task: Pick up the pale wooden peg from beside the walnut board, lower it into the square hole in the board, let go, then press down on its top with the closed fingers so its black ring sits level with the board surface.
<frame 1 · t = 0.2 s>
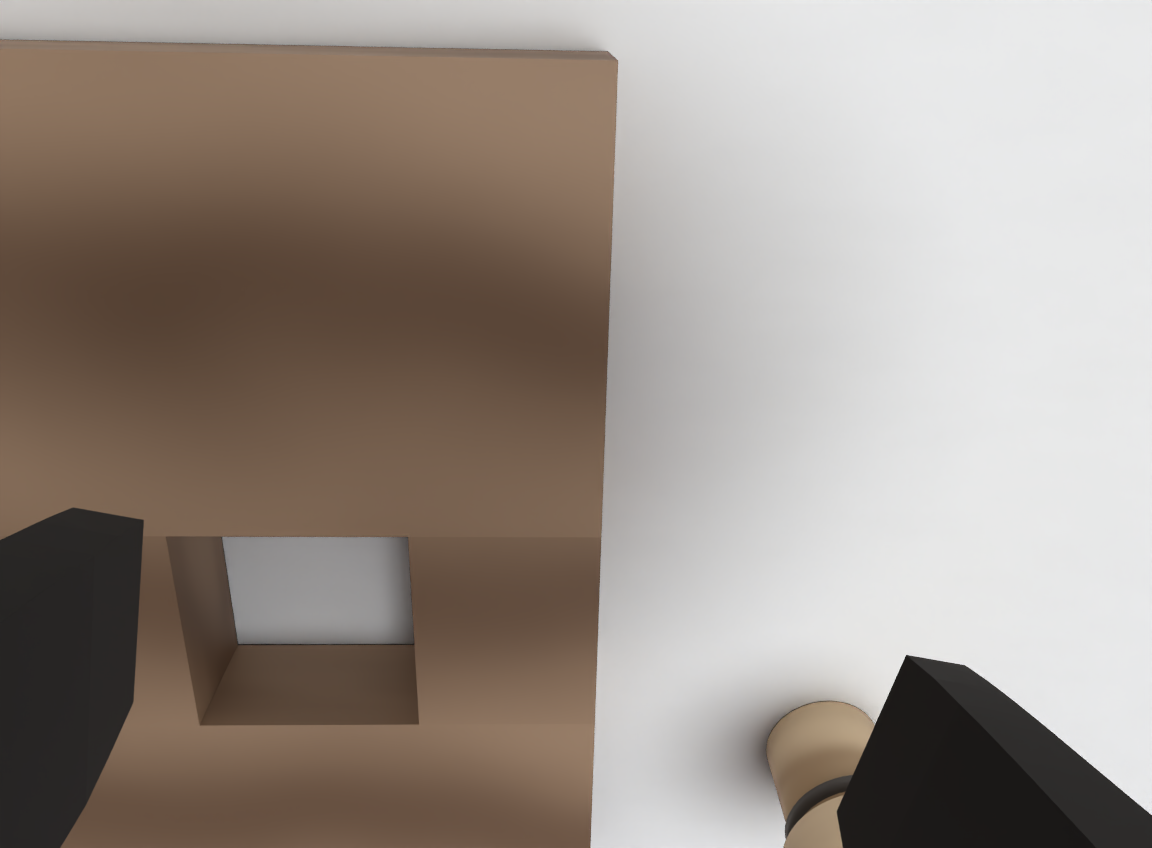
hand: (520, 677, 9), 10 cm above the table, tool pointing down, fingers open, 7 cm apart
board: (283, 602, 20), on the table
peg: (821, 745, 22), on the table
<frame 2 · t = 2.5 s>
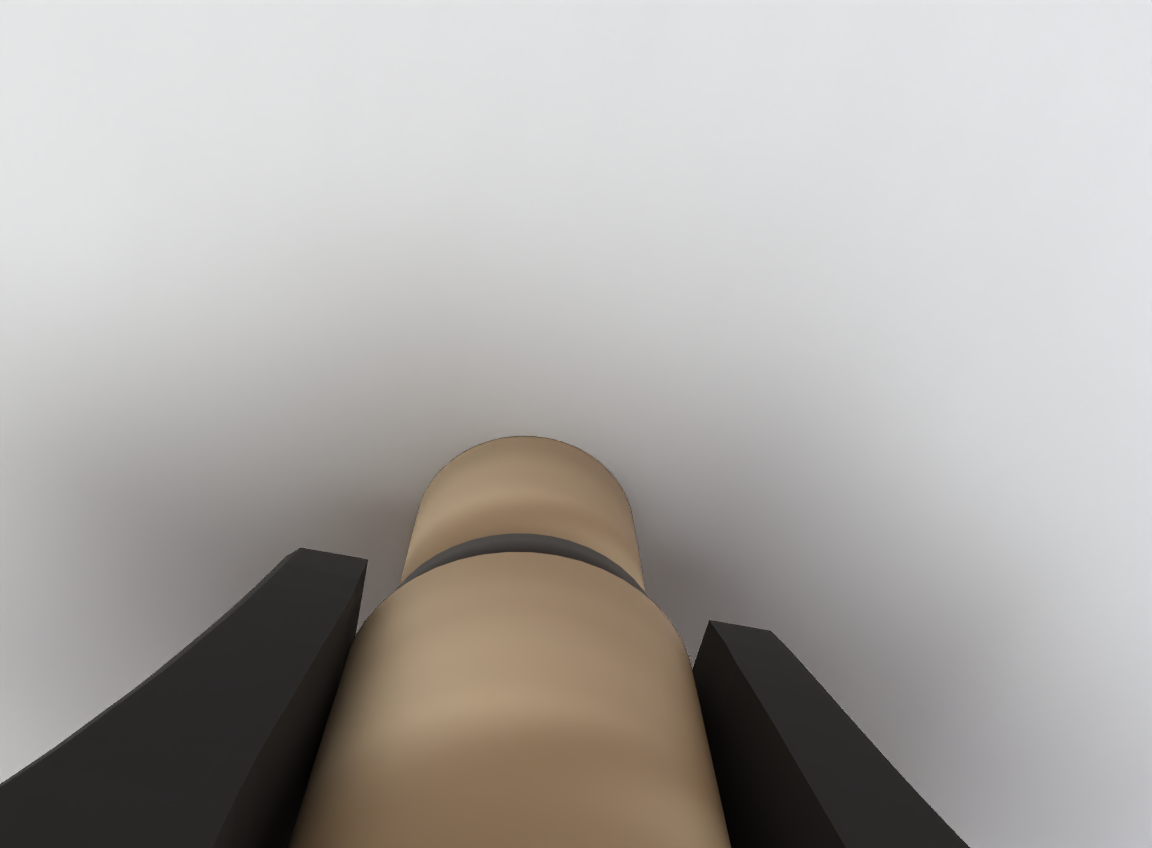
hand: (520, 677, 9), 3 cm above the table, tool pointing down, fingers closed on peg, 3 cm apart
peg: (525, 535, 11), on the table, touching gripper
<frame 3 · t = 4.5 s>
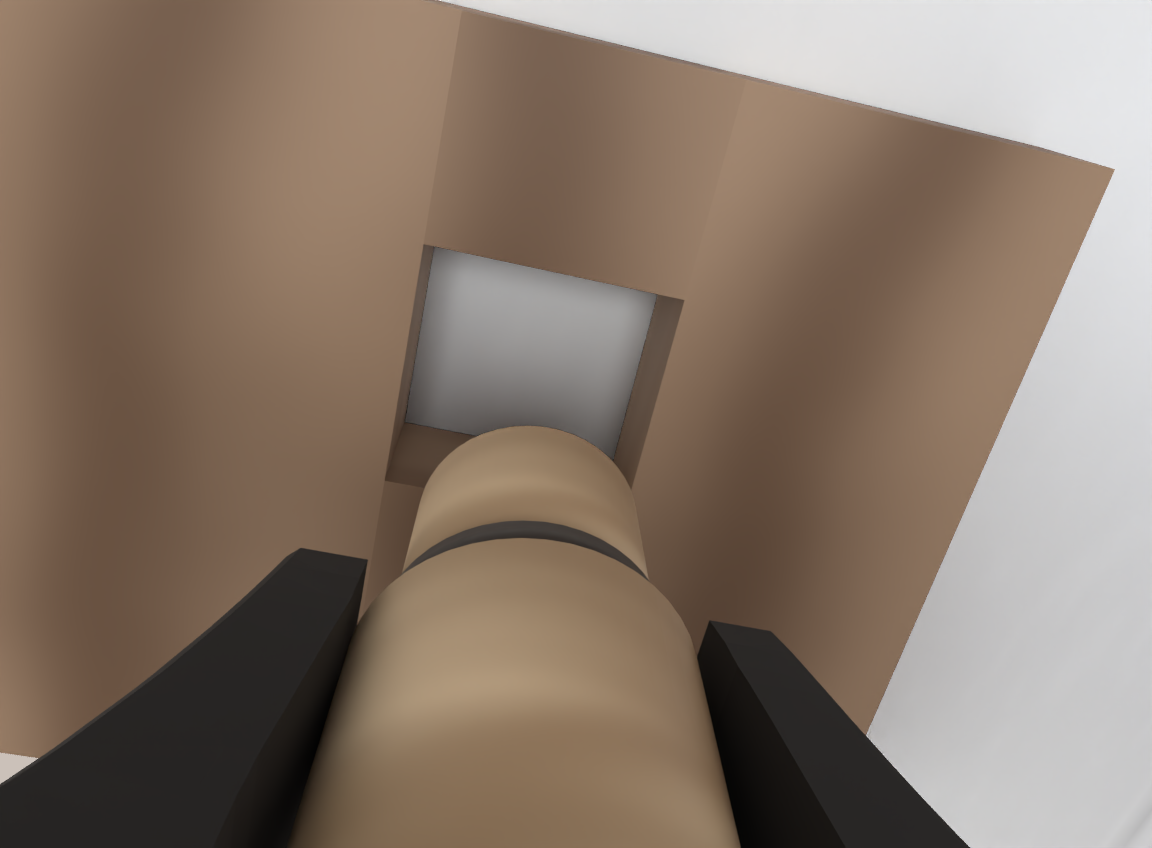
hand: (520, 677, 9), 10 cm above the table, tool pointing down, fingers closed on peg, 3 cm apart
board: (571, 402, 19), on the table
peg: (528, 525, 11), point 7 cm above the table, touching gripper
when the fingers open (4 cm above the table, at t = 6.4 s): peg drops 1 cm, resting in board.
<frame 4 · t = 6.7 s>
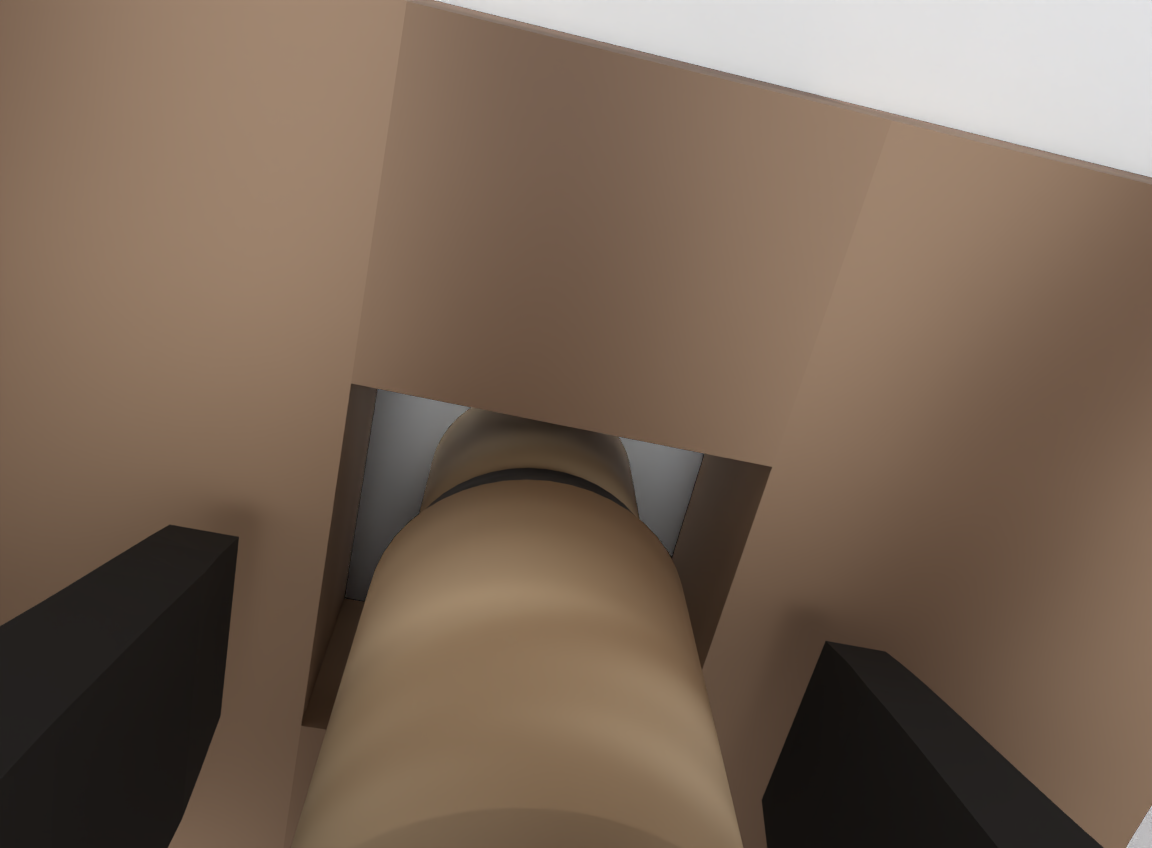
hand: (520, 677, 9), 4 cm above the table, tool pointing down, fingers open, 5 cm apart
board: (585, 570, 13), on the table
peg: (531, 483, 12), resting in board
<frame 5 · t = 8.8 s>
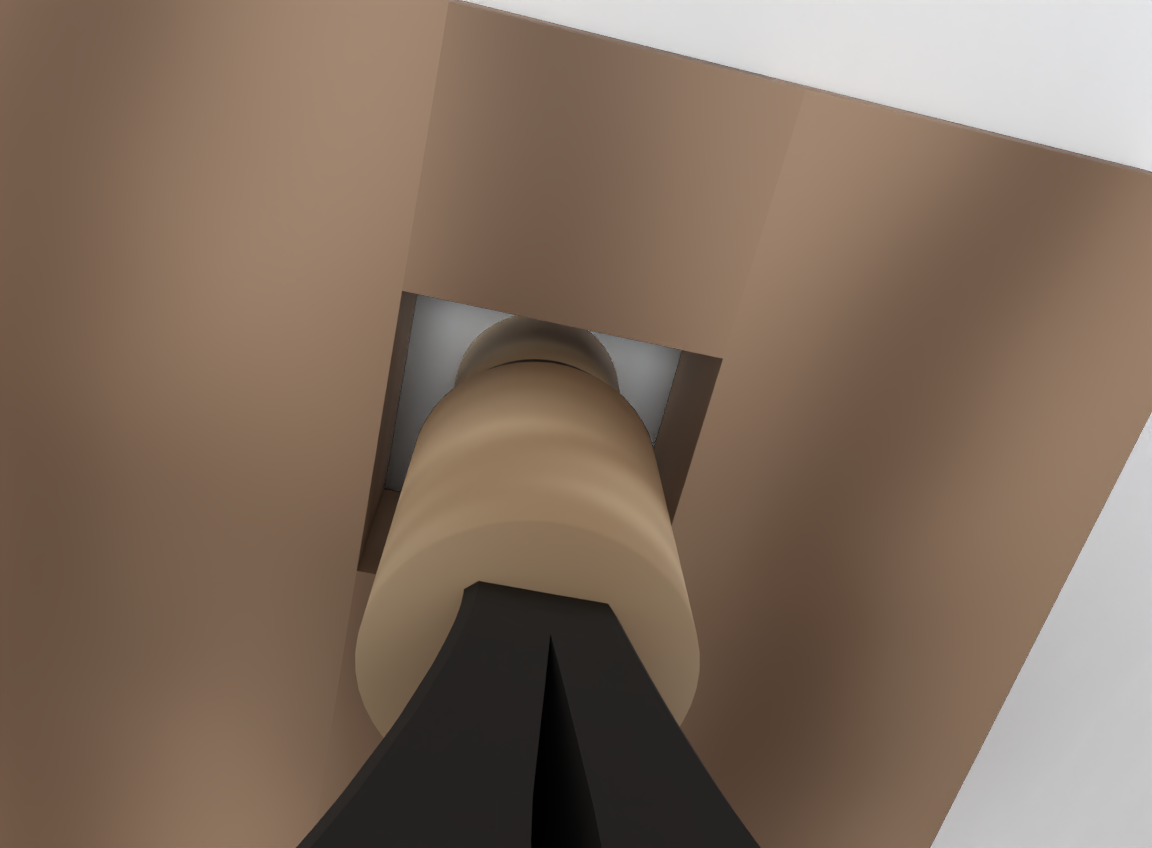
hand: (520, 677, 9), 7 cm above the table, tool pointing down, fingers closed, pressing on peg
board: (580, 466, 16), on the table
peg: (537, 391, 15), resting in board, touching gripper
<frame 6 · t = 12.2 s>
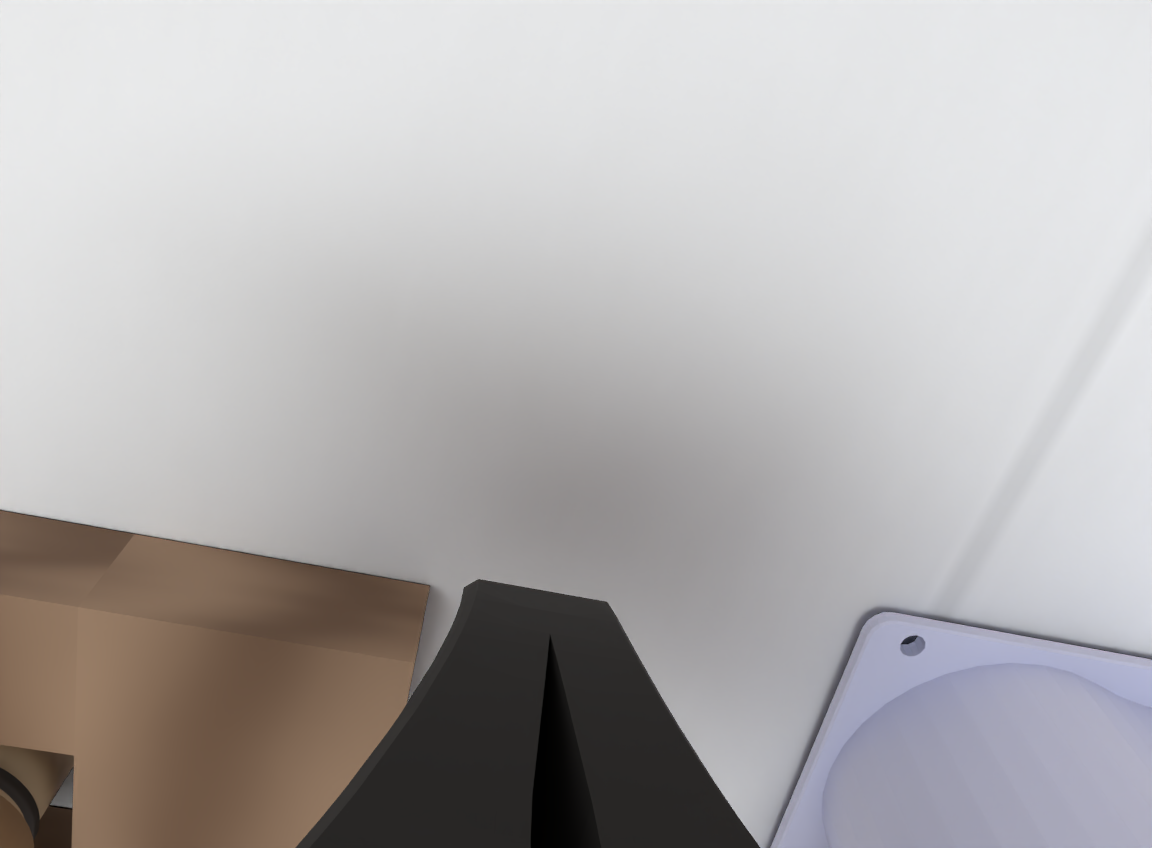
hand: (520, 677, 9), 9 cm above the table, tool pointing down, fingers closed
board: (70, 772, 21), on the table
peg: (25, 726, 21), resting in board
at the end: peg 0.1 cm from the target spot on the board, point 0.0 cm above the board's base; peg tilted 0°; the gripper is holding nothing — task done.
